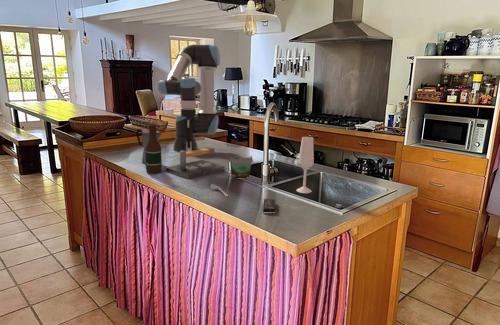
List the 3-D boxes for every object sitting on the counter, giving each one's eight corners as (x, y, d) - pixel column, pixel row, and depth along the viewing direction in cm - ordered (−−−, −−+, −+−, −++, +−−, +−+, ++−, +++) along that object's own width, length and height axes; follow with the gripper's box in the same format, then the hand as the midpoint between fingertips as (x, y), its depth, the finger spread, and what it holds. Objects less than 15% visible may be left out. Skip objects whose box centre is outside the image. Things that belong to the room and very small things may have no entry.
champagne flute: (296, 192, 163) (299, 138, 157) (296, 187, 170) (300, 135, 164) (311, 193, 162) (315, 139, 156) (311, 188, 169) (315, 136, 163)
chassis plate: (202, 163, 207) (202, 158, 206) (224, 169, 195) (224, 165, 194) (165, 171, 189) (165, 166, 189) (188, 179, 178) (188, 174, 177)
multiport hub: (275, 204, 150) (275, 199, 149) (274, 215, 139) (275, 209, 138) (264, 204, 150) (264, 198, 149) (263, 214, 139) (263, 208, 139)
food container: (234, 181, 177) (234, 160, 174) (228, 177, 182) (229, 157, 180) (256, 178, 183) (257, 158, 180) (251, 174, 188) (251, 155, 185)
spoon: (216, 186, 169) (216, 183, 169) (239, 201, 152) (239, 197, 152) (207, 188, 167) (207, 184, 167) (230, 202, 150) (230, 199, 150)
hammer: (208, 161, 201) (208, 145, 199) (214, 163, 198) (214, 146, 195) (177, 168, 186) (177, 150, 184) (183, 170, 183) (183, 152, 181)
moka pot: (158, 165, 200) (157, 128, 195) (132, 163, 203) (130, 126, 198) (166, 161, 209) (165, 125, 204) (140, 159, 212) (139, 124, 207)
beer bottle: (165, 170, 190) (163, 124, 184) (156, 174, 183) (154, 126, 177) (151, 169, 193) (150, 123, 186) (143, 172, 185) (140, 125, 179)
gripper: (181, 107, 197) (182, 150, 203) (180, 110, 184) (181, 156, 190) (195, 107, 198) (196, 150, 204) (195, 110, 185) (196, 156, 191)
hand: (188, 153), depth 197 cm, fingers closed
